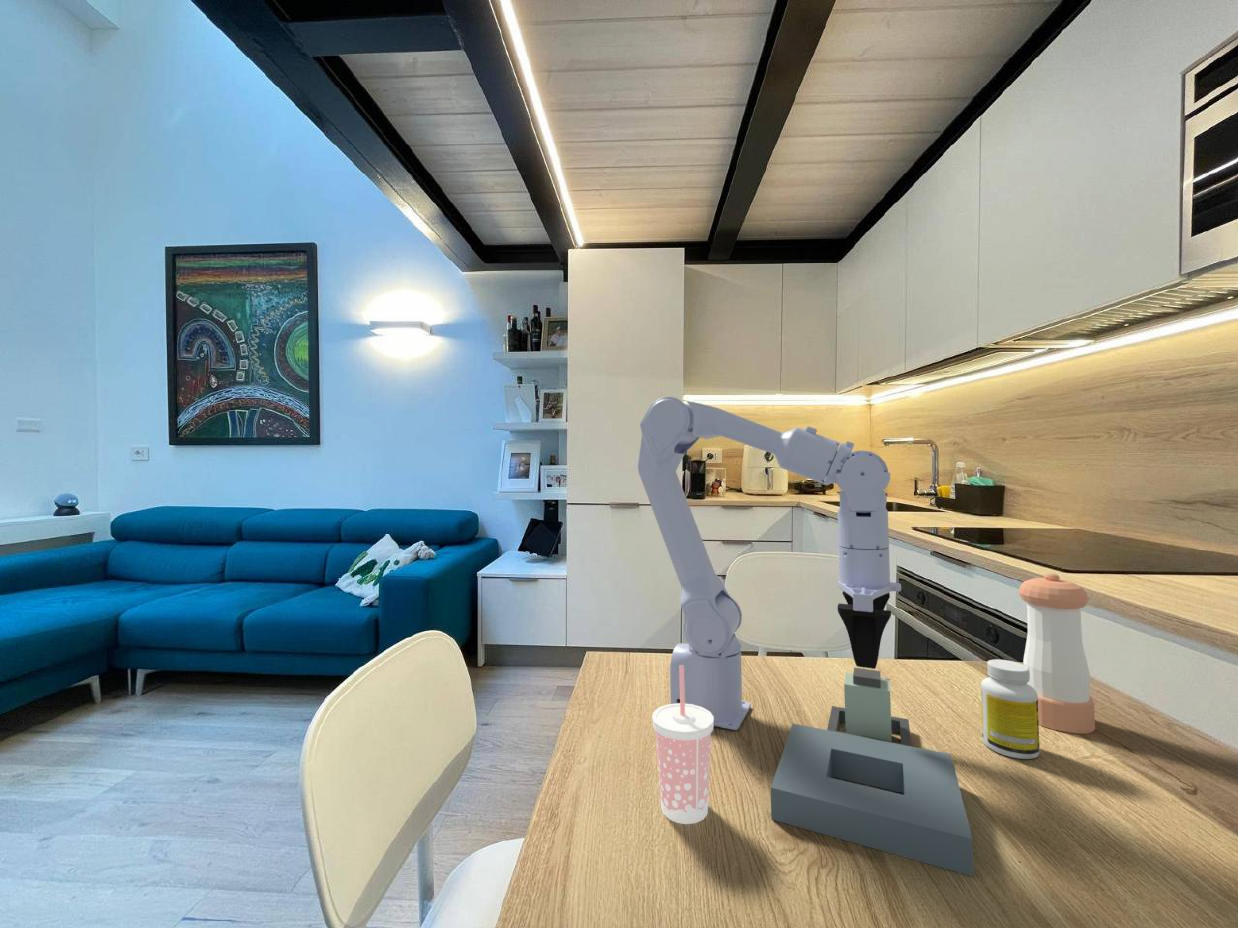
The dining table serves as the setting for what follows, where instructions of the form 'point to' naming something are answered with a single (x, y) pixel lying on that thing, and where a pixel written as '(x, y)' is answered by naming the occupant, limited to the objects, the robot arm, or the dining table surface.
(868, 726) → the plug
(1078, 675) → the pepper shaker
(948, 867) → the port block
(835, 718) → the grey rectangular frame
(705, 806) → the beverage cup
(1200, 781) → the dining table surface
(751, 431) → the robot arm
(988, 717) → the supplement bottle
